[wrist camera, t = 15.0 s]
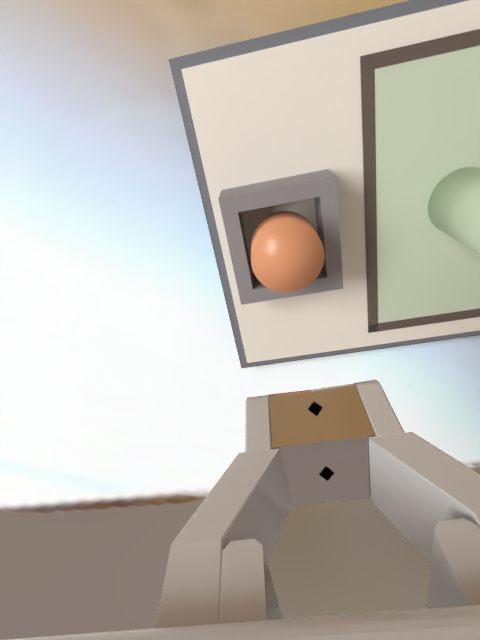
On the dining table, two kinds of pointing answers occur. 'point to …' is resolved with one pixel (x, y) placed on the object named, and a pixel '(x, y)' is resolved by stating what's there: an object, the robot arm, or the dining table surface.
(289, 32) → the cream board with holder
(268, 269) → the button
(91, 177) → the dining table surface
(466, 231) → the marker
